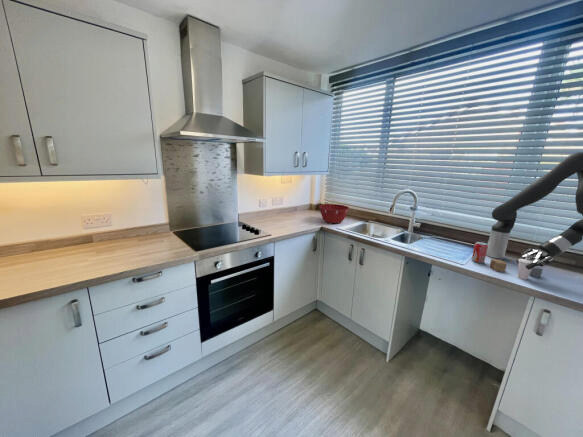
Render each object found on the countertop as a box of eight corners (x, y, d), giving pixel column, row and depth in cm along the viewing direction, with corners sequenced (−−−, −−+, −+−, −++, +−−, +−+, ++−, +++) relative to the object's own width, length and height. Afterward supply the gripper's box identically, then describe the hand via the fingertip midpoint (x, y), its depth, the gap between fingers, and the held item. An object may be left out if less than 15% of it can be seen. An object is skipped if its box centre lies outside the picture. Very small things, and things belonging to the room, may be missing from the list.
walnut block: (489, 267, 141) (491, 259, 139) (499, 268, 140) (501, 260, 138) (494, 270, 136) (496, 262, 135) (504, 271, 135) (506, 263, 134)
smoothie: (522, 275, 131) (528, 251, 128) (534, 280, 125) (541, 255, 122) (510, 275, 131) (517, 250, 128) (522, 280, 125) (529, 255, 121)
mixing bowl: (341, 227, 216) (342, 210, 212) (313, 222, 231) (314, 206, 227) (351, 221, 239) (353, 206, 236) (325, 217, 254) (326, 203, 251)
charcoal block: (522, 272, 135) (525, 264, 134) (533, 273, 134) (535, 265, 133) (529, 276, 130) (531, 267, 129) (540, 277, 129) (542, 268, 128)
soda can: (477, 263, 145) (481, 244, 142) (468, 259, 151) (472, 241, 148) (486, 263, 145) (491, 244, 143) (478, 259, 151) (482, 241, 149)
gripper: (539, 236, 128) (508, 255, 133) (562, 245, 115) (527, 265, 119) (548, 247, 128) (517, 265, 133) (572, 257, 115) (537, 276, 120)
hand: (522, 265), depth 126 cm, fingers closed on smoothie, 6 cm apart
